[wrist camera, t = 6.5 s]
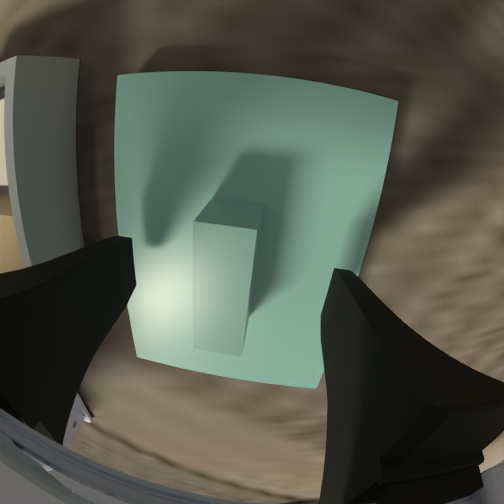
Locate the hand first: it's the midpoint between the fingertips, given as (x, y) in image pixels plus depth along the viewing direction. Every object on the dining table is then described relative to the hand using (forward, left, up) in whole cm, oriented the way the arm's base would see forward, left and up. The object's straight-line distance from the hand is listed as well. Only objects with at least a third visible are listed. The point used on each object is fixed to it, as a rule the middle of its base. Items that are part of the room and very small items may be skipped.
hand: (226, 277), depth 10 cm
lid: (0, 0, -3) cm, 3 cm away
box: (+2, +12, -3) cm, 12 cm away
